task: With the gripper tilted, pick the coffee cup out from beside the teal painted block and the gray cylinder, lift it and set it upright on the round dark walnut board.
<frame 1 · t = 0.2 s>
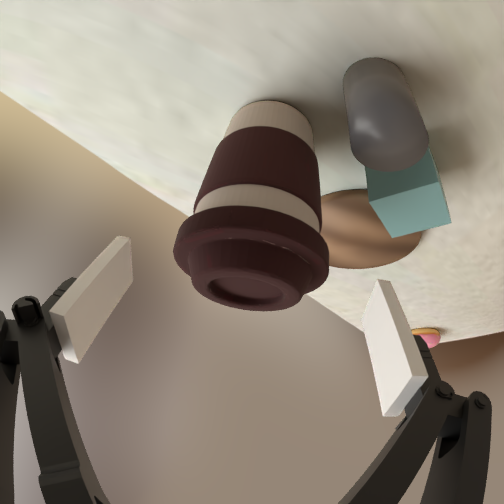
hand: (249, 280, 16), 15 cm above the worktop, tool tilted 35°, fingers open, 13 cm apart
teal block: (403, 161, 27), on the worktop
coffee cup: (271, 129, 27), on the worktop
walnut board: (357, 231, 38), on the worktop
gray cylinder: (374, 85, 21), on the worktop
doughnut: (420, 331, 73), on the worktop
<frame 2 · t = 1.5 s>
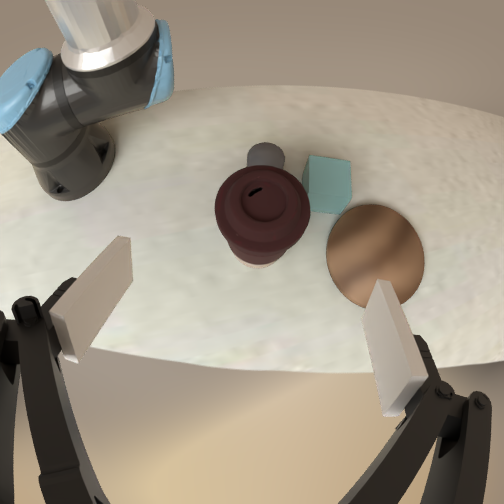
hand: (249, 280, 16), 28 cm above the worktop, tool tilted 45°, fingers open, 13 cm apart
teal block: (321, 194, 48), on the worktop
coffee cup: (257, 244, 46), on the worktop
walnut board: (376, 256, 46), on the worktop
gray cylinder: (263, 181, 49), on the worktop
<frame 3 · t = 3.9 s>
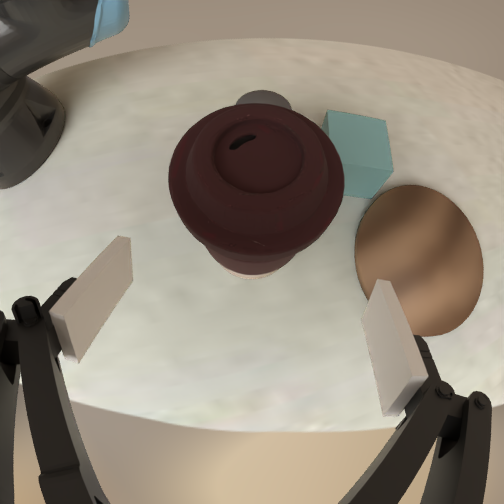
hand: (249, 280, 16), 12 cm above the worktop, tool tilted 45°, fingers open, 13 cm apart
teal block: (343, 170, 33), on the worktop
coffee cup: (251, 242, 30), on the worktop
walnut board: (423, 259, 30), on the worktop
gray cylinder: (259, 152, 33), on the worktop
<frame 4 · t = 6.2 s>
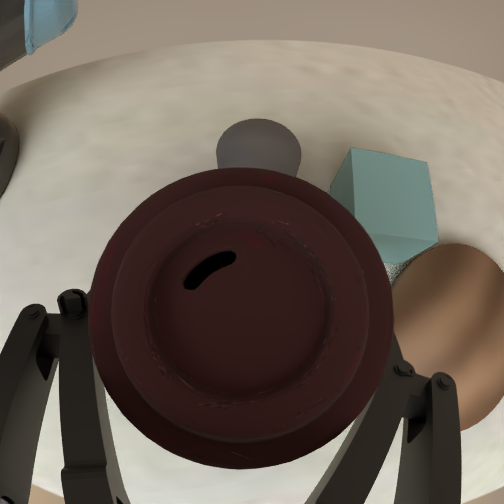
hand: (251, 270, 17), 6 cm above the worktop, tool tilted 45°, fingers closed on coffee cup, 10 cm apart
teal block: (365, 225, 25), on the worktop
coffee cup: (242, 331, 22), on the worktop, touching gripper
walnut board: (457, 339, 22), on the worktop
gray cylinder: (254, 200, 25), on the worktop
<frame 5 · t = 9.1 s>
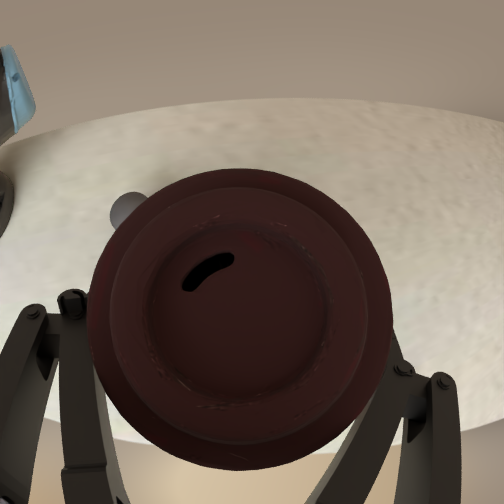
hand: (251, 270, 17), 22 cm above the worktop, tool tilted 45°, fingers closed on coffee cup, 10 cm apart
coffee cup: (241, 331, 22), point 16 cm above the worktop, touching gripper
gray cylinder: (146, 232, 40), on the worktop
when the fingers open (9 cm above the worktop, at t = 12.4 s): coffee cup drops 1 cm, resting on walnut board.
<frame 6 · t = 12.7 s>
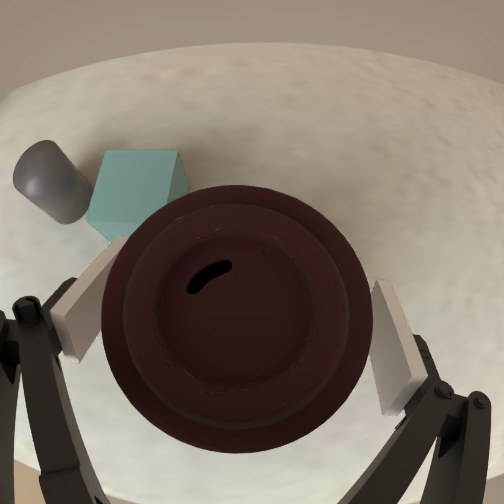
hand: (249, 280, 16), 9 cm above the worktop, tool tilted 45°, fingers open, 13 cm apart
teal block: (151, 215, 27), on the worktop
coffee cup: (239, 333, 24), point 1 cm above the worktop, touching walnut board
gray cylinder: (70, 200, 28), on the worktop
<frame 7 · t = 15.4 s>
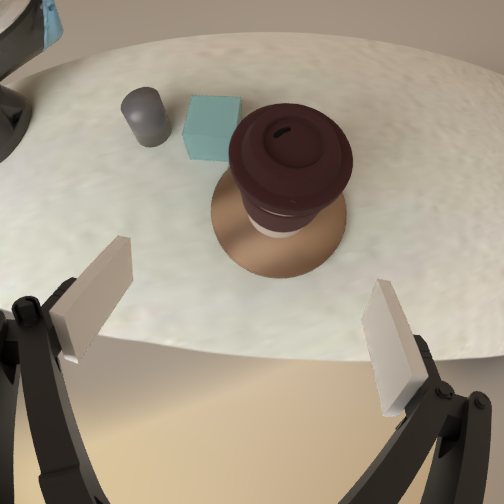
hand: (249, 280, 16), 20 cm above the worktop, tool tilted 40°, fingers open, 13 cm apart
teal block: (216, 141, 41), on the worktop
coffee cup: (278, 209, 37), point 1 cm above the worktop, touching walnut board
walnut board: (279, 211, 38), on the worktop
gray cylinder: (153, 132, 41), on the worktop
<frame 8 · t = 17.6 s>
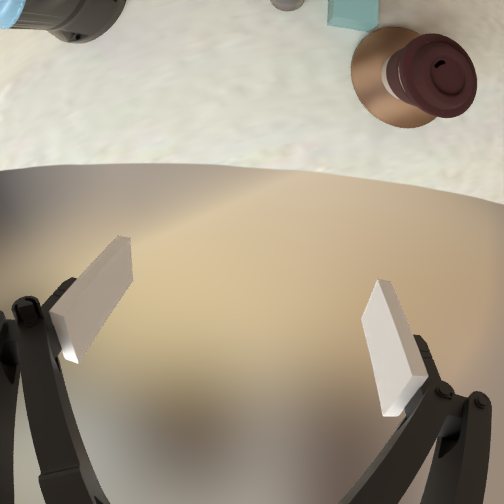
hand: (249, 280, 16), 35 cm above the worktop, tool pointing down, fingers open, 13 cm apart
teal block: (348, 11, 35), on the worktop
coffee cup: (402, 77, 38), point 1 cm above the worktop, touching walnut board
walnut board: (401, 77, 39), on the worktop
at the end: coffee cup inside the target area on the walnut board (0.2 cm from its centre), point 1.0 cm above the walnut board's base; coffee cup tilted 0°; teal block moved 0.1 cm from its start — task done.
